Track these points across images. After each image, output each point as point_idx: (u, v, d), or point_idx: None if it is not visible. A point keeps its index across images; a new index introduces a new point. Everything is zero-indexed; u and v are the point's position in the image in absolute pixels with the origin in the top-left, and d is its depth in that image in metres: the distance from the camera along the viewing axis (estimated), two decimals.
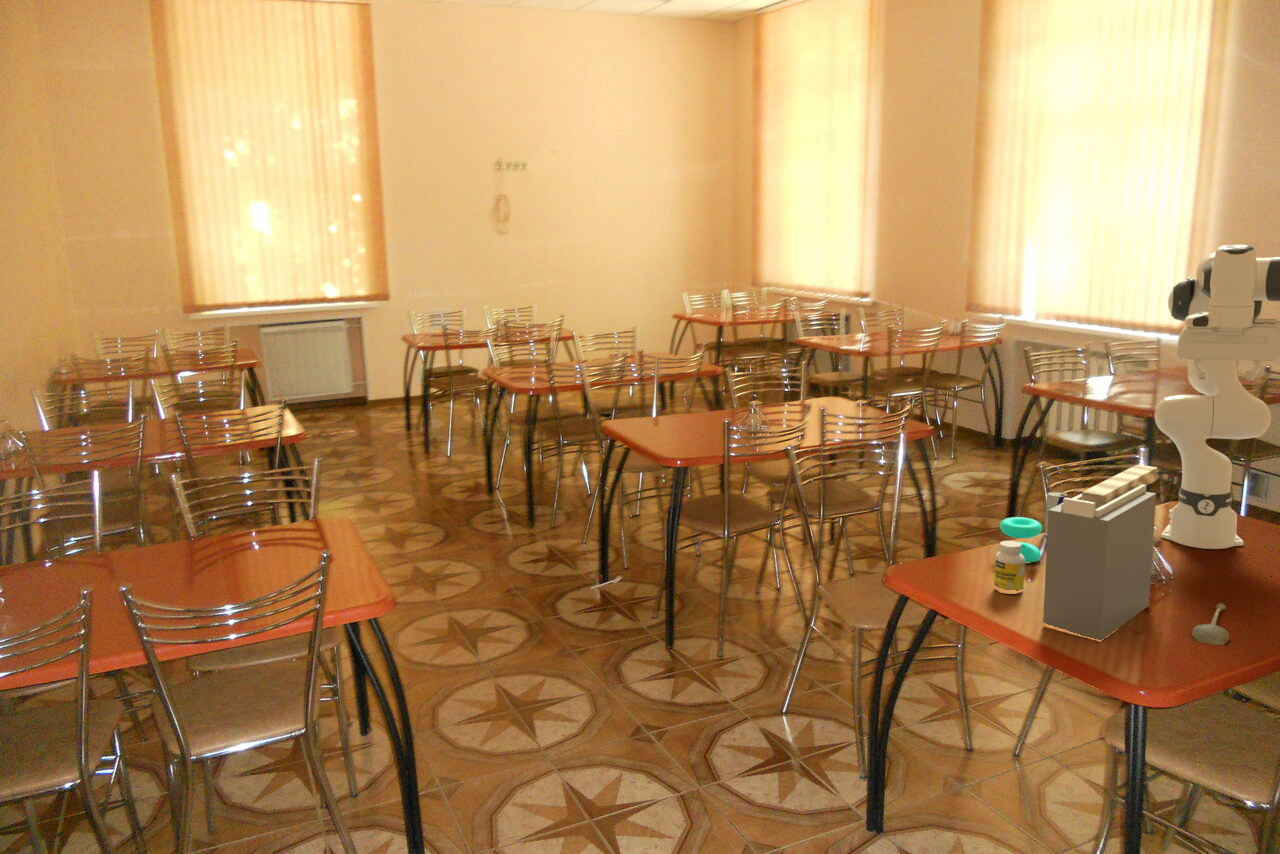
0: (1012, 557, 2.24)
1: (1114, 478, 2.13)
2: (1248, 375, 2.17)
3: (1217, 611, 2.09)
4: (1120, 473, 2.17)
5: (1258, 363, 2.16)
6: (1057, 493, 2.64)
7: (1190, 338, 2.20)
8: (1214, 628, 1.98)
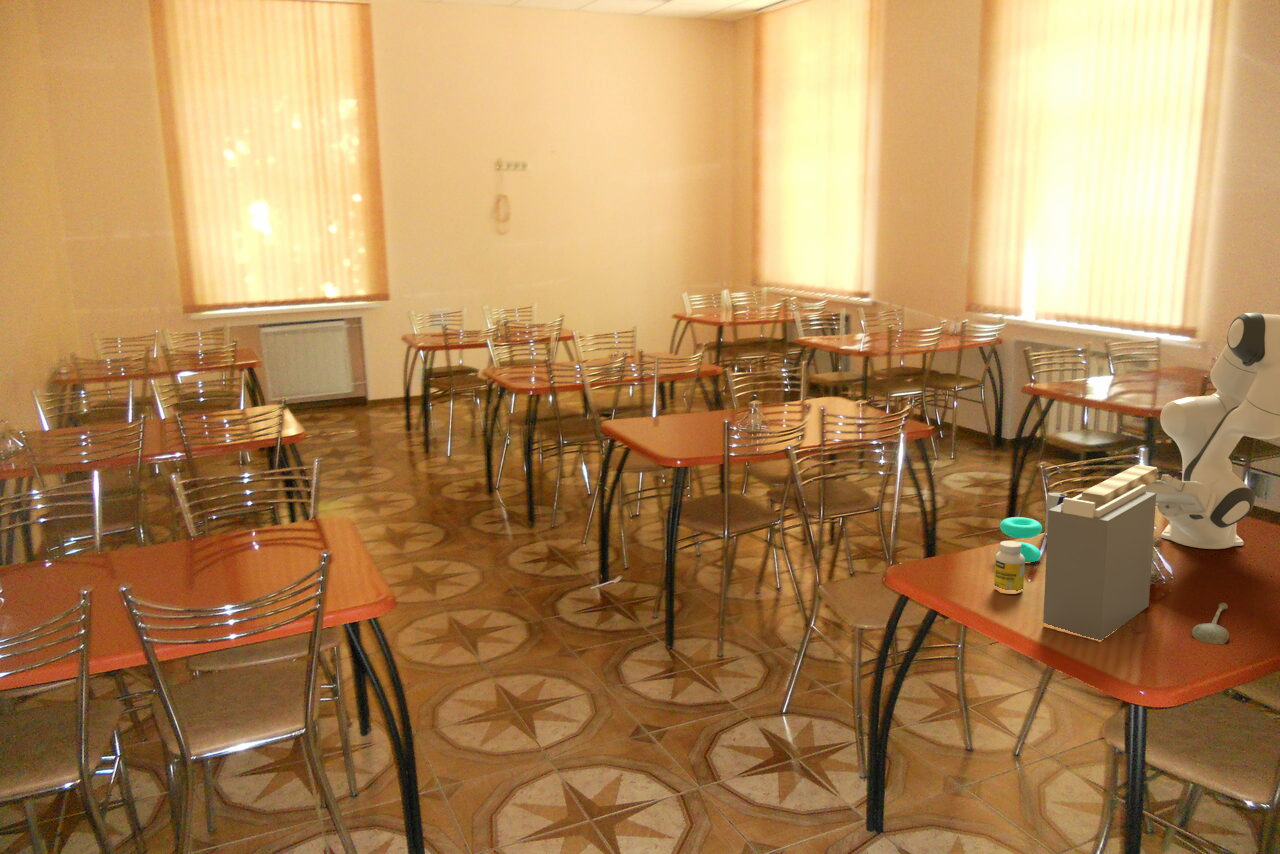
0: (1012, 557, 2.24)
1: (1114, 478, 2.13)
2: None
3: (1218, 610, 2.09)
4: (1120, 473, 2.17)
5: None
6: (1057, 493, 2.64)
7: (1195, 504, 2.26)
8: (1214, 627, 1.99)
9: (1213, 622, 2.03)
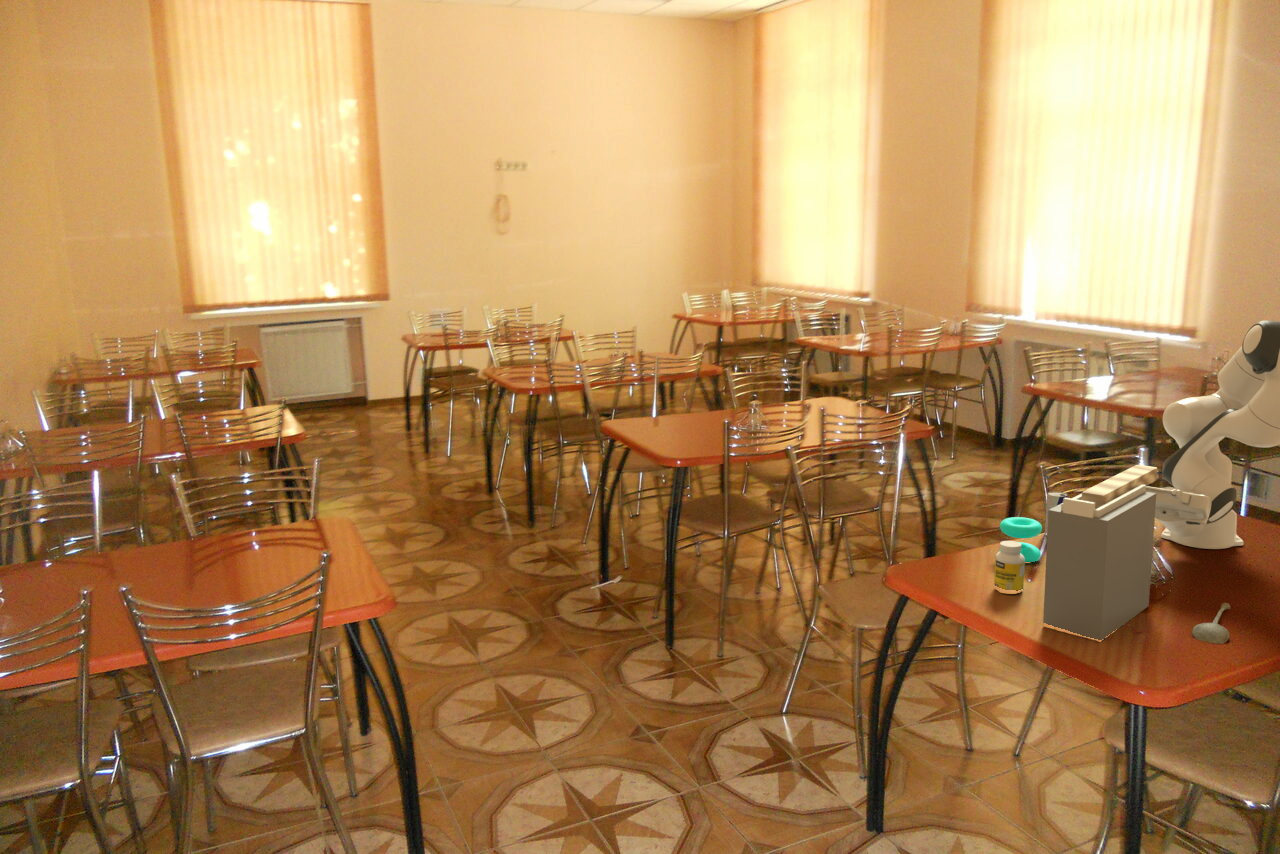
0: (1012, 557, 2.24)
1: (1114, 478, 2.13)
2: None
3: (1220, 610, 2.09)
4: (1120, 473, 2.17)
5: None
6: (1057, 493, 2.64)
7: (1197, 514, 2.28)
8: (1214, 627, 1.99)
9: (1214, 622, 2.03)
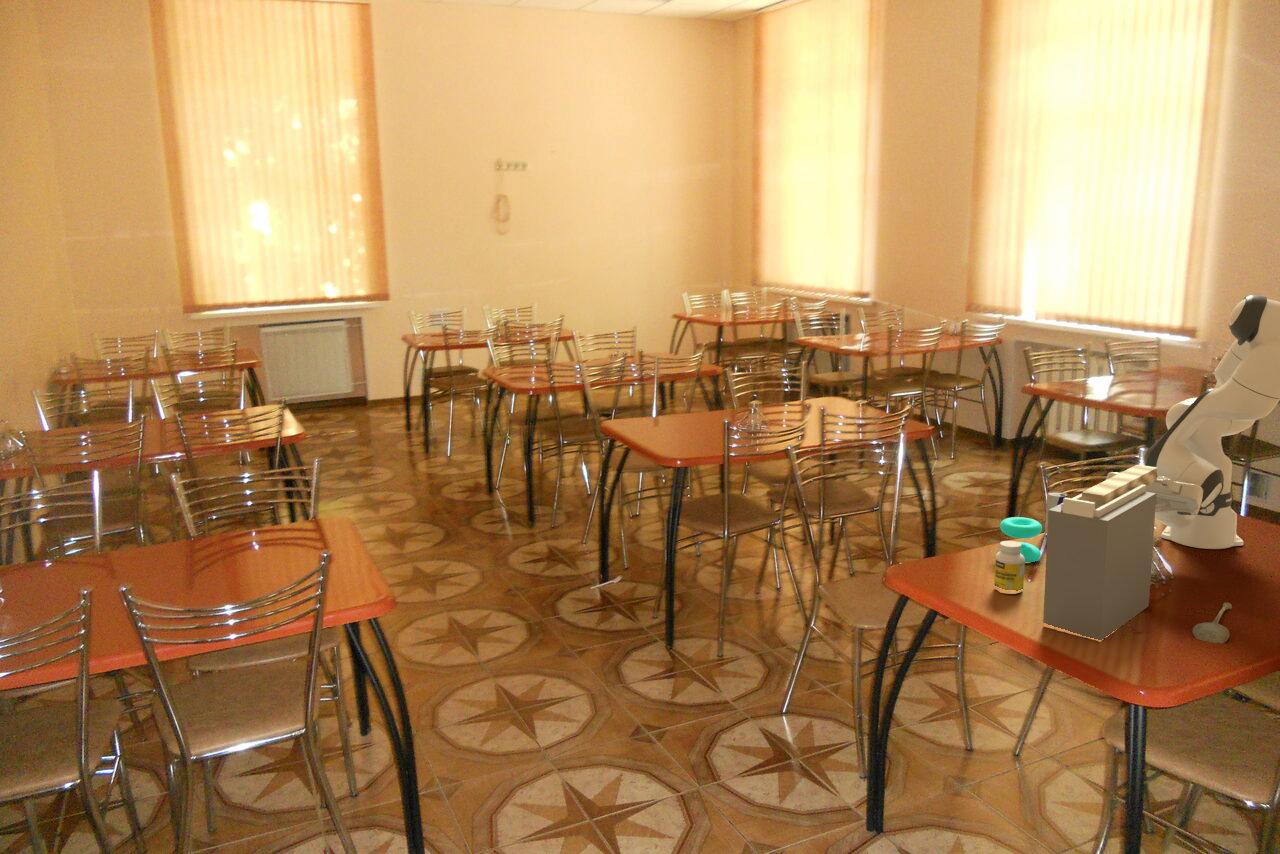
0: (1012, 557, 2.24)
1: (1114, 478, 2.13)
2: None
3: (1222, 610, 2.09)
4: (1120, 473, 2.17)
5: None
6: (1057, 493, 2.64)
7: (1188, 504, 2.23)
8: (1215, 626, 1.99)
9: (1215, 621, 2.03)
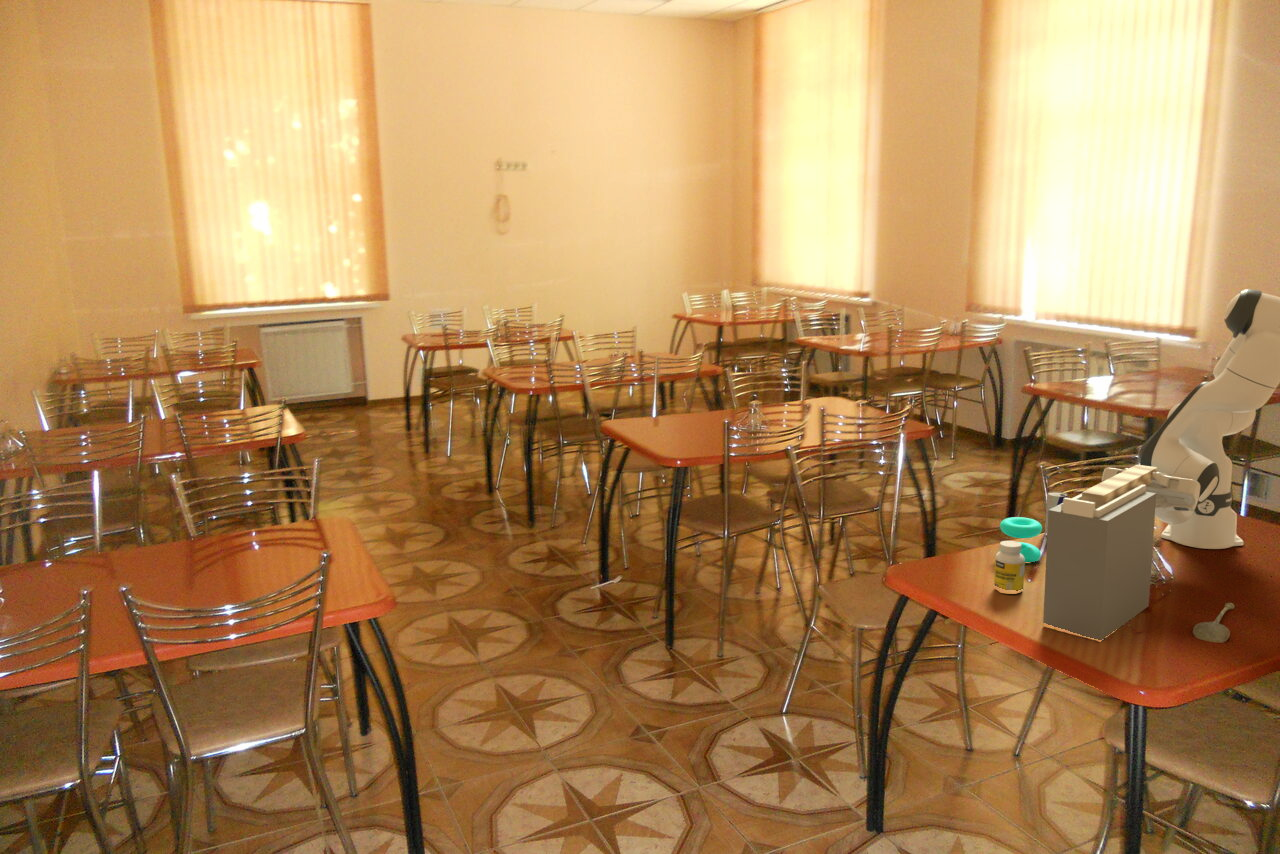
0: (1012, 557, 2.24)
1: (1114, 478, 2.13)
2: None
3: (1223, 610, 2.09)
4: (1120, 473, 2.17)
5: None
6: (1057, 493, 2.64)
7: (1186, 499, 2.20)
8: (1215, 626, 1.99)
9: (1216, 621, 2.04)
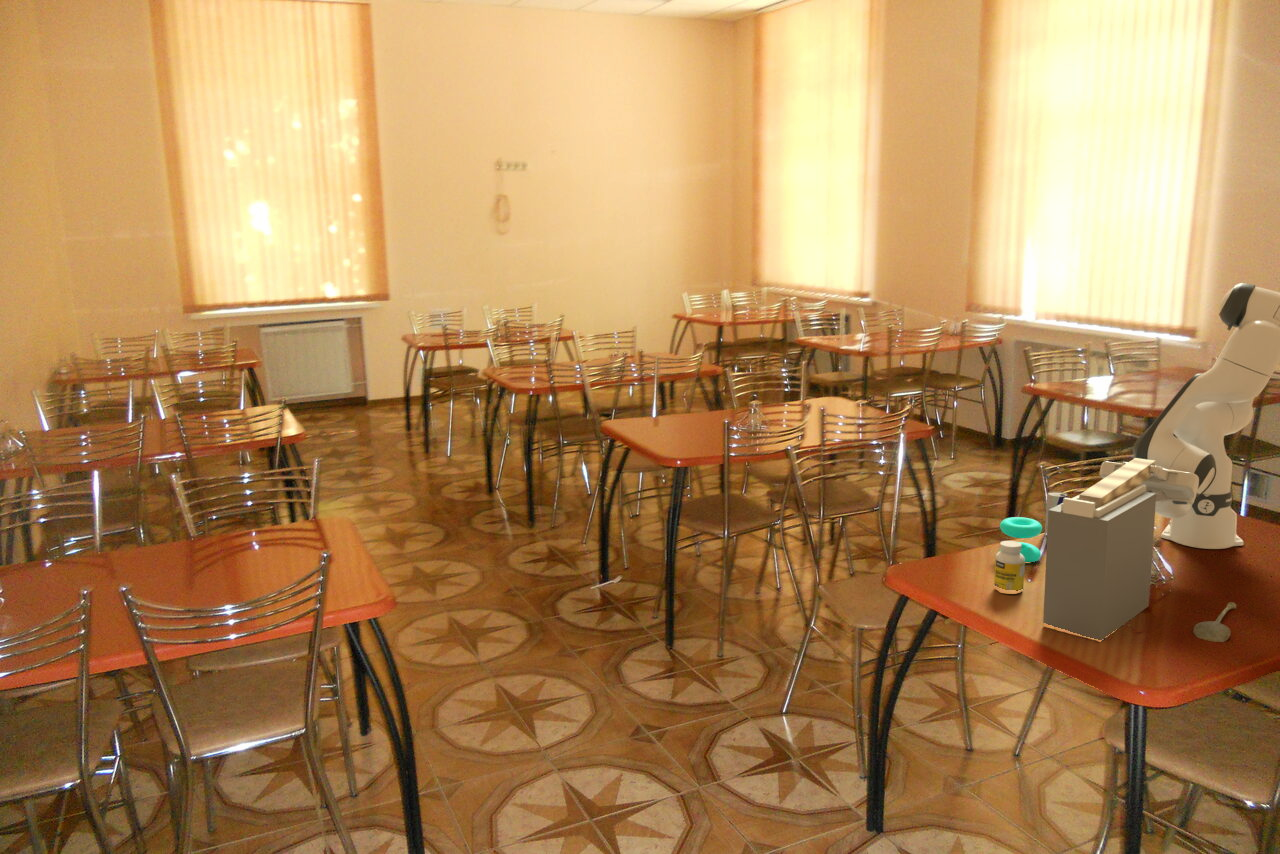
0: (1012, 557, 2.24)
1: (1112, 476, 2.11)
2: None
3: (1225, 609, 2.09)
4: (1118, 469, 2.15)
5: None
6: (1057, 493, 2.64)
7: (1184, 492, 2.18)
8: (1216, 625, 2.00)
9: (1217, 620, 2.04)
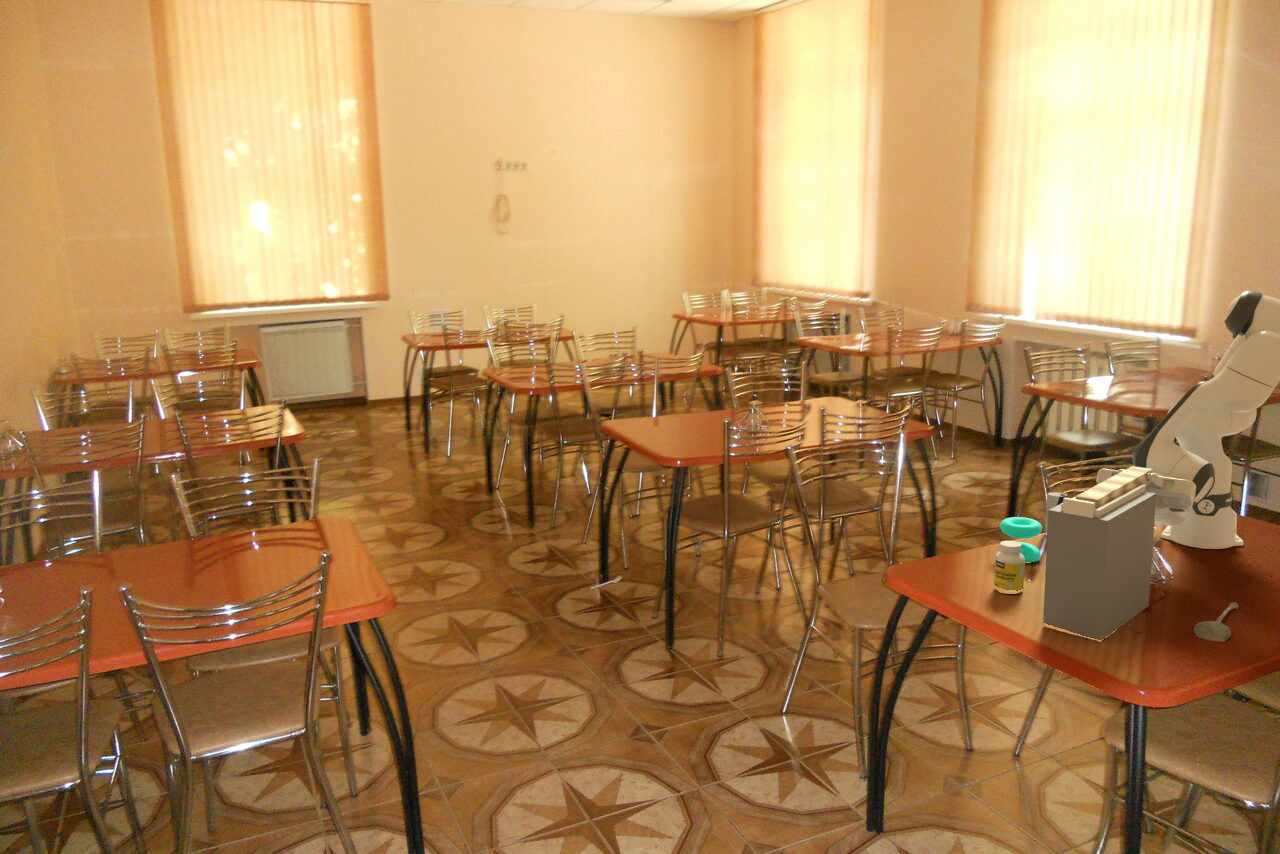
0: (1012, 557, 2.24)
1: (1108, 481, 2.10)
2: None
3: (1227, 609, 2.09)
4: (1115, 475, 2.14)
5: None
6: (1058, 493, 2.64)
7: (1181, 500, 2.17)
8: (1216, 625, 2.00)
9: (1218, 620, 2.04)
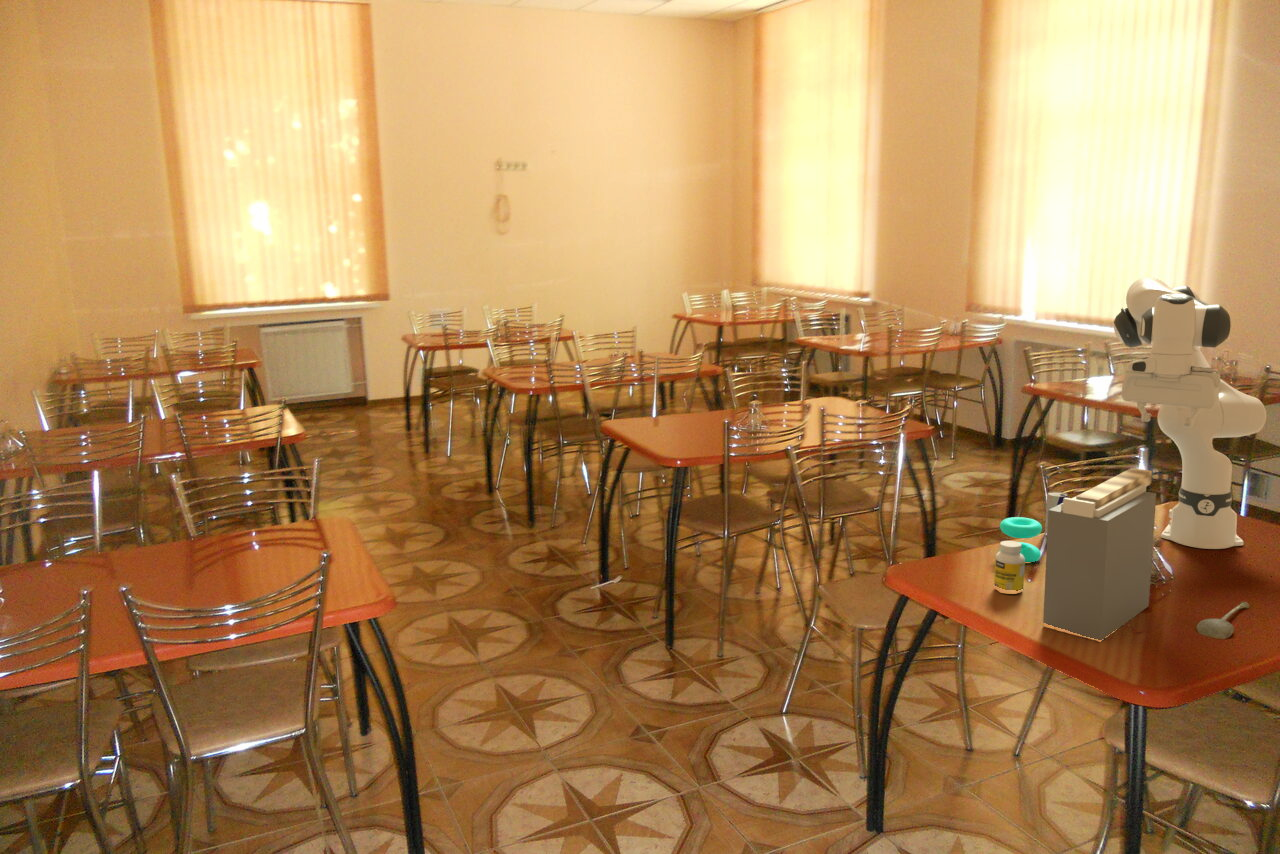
0: (1012, 557, 2.24)
1: (1108, 482, 2.10)
2: (1186, 421, 2.24)
3: (1235, 608, 2.10)
4: (1114, 477, 2.14)
5: (1195, 410, 2.22)
6: (1057, 493, 2.64)
7: (1132, 381, 2.30)
8: (1219, 622, 2.01)
9: (1223, 618, 2.05)
